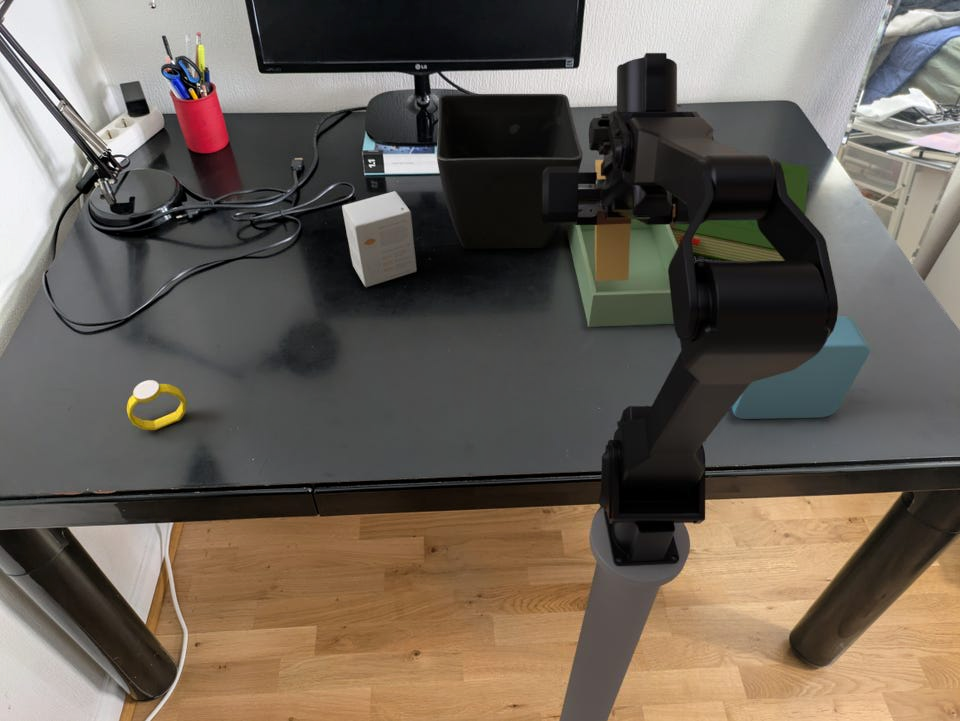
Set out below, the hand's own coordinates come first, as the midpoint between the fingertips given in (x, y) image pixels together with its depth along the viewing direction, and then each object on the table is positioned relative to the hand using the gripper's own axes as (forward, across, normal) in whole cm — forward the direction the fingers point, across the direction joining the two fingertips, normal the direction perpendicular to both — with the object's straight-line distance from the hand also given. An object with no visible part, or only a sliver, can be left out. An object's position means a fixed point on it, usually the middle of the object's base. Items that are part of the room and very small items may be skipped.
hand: (611, 210), depth 86 cm
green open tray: (+12, -4, +6) cm, 15 cm away
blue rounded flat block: (-4, -18, +24) cm, 31 cm away
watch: (-6, +53, +26) cm, 59 cm away
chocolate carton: (+4, -1, +6) cm, 7 cm away
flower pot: (+21, +13, -2) cm, 25 cm away
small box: (+14, +30, +6) cm, 34 cm away
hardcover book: (+22, -23, -3) cm, 33 cm away
